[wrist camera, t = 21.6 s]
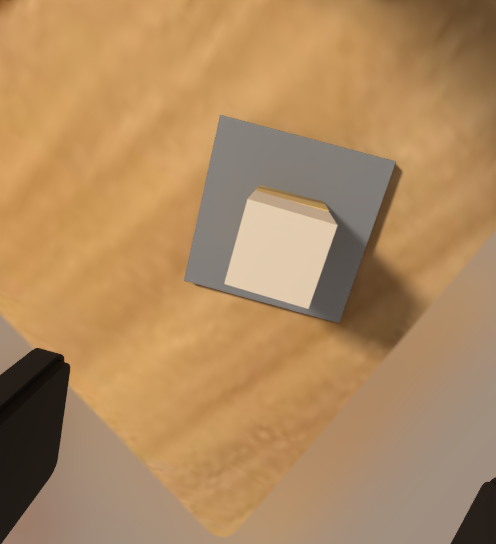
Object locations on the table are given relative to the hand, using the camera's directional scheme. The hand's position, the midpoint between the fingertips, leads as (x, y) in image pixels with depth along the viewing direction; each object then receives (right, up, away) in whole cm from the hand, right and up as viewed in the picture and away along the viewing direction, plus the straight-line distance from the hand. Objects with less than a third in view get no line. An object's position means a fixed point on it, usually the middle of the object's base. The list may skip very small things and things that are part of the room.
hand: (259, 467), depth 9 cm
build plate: (+3, +9, +31) cm, 32 cm away
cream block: (+2, +7, +24) cm, 25 cm away
